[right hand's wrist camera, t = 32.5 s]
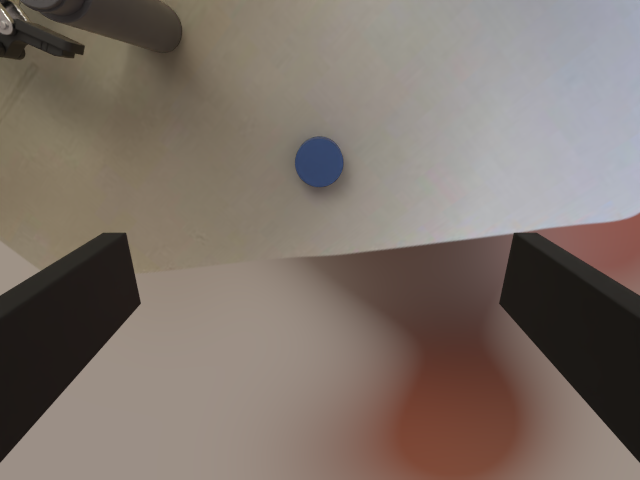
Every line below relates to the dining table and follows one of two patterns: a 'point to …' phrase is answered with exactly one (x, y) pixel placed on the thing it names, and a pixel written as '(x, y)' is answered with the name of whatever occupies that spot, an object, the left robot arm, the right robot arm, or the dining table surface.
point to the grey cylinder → (118, 20)
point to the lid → (319, 162)
